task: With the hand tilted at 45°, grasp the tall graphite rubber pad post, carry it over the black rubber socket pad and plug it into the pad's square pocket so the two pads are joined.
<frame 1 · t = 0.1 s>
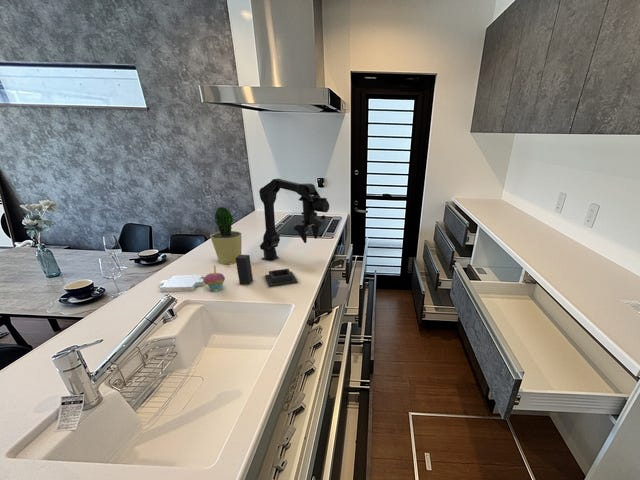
hand: (310, 240, 156), 15 cm above the counter, tool pointing down, fingers open, 9 cm apart
socket pad: (281, 279, 146), on the counter
mounting plate: (183, 285, 138), on the counter
cupcake: (216, 288, 135), on the counter
potted cactus: (230, 260, 168), on the counter
pad post: (246, 282, 142), on the counter
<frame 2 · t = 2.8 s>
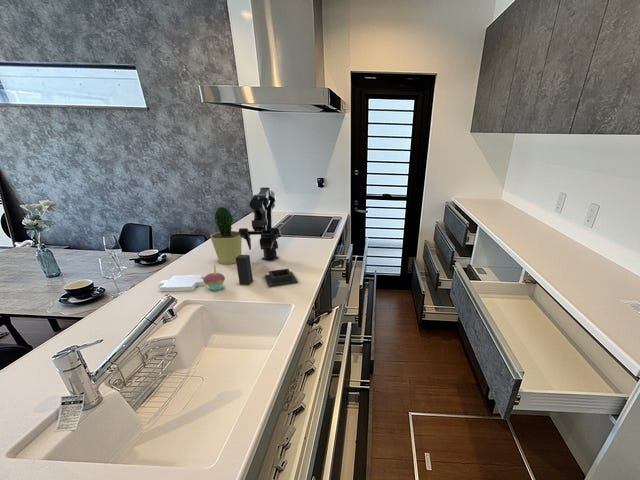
hand: (260, 249, 144), 14 cm above the counter, tool tilted 35°, fingers open, 9 cm apart
nothing on the counter moved.
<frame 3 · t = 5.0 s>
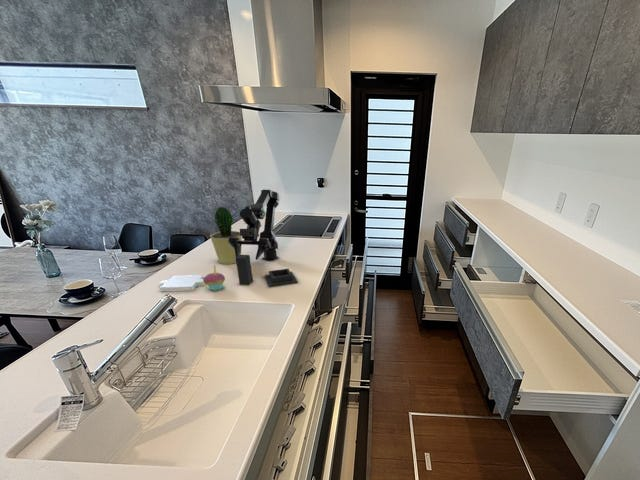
hand: (246, 259, 141), 10 cm above the counter, tool tilted 45°, fingers open, 9 cm apart
nothing on the counter moved.
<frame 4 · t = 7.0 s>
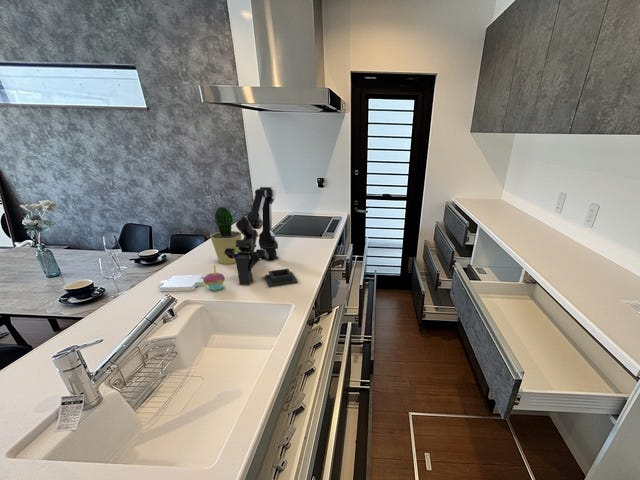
hand: (243, 270, 138), 7 cm above the counter, tool tilted 45°, fingers closed on pad post, 4 cm apart
pad post: (246, 282, 142), on the counter, touching gripper
everything else where it was.
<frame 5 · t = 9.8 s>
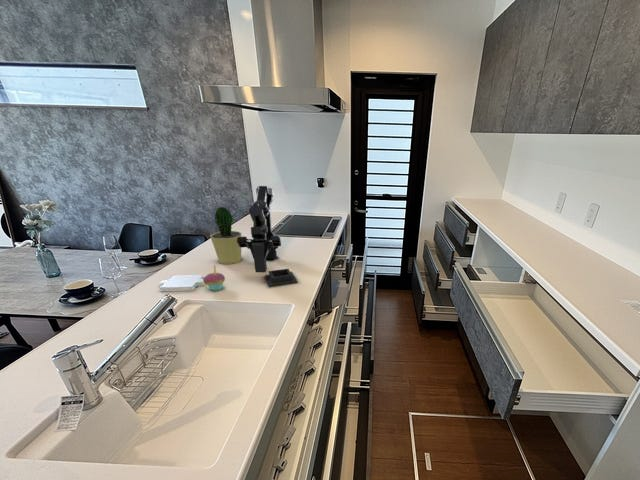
hand: (259, 258, 137), 12 cm above the counter, tool tilted 45°, fingers closed on pad post, 4 cm apart
pad post: (261, 270, 140), point 6 cm above the counter, touching gripper
everything else where it was.
when the fingers open (8 cm above the counter, at t = 12.9 s): pad post stays where it is, resting on socket pad.
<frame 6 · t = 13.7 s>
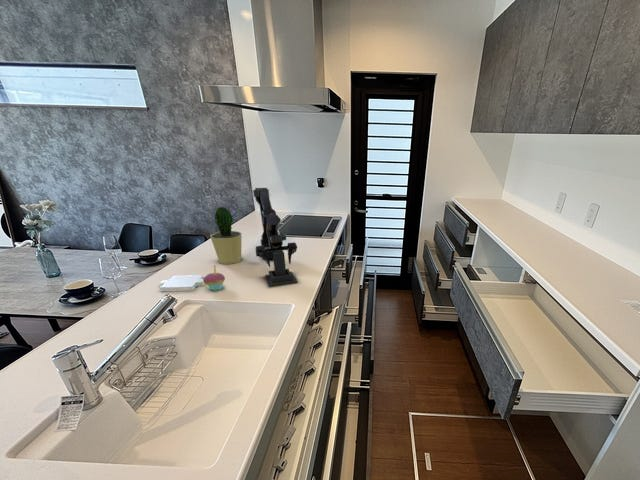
hand: (280, 265, 141), 8 cm above the counter, tool tilted 45°, fingers open, 9 cm apart
pad post: (280, 277, 145), point 1 cm above the counter, touching socket pad
everything else where it was.
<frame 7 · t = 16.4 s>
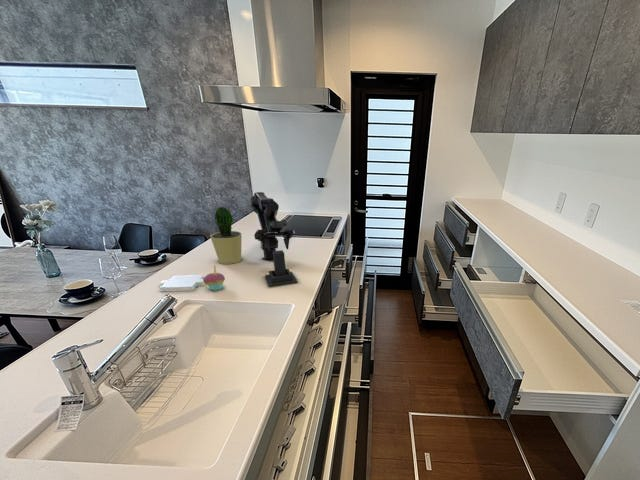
hand: (278, 249, 149), 12 cm above the counter, tool tilted 40°, fingers open, 9 cm apart
nothing on the counter moved.
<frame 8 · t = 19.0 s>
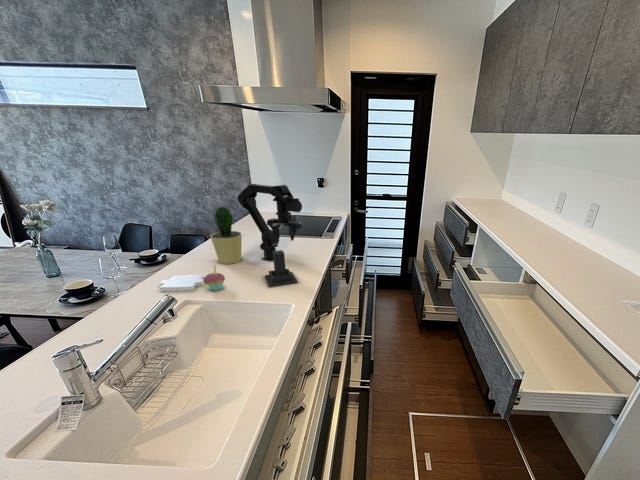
hand: (285, 239, 163), 13 cm above the counter, tool pointing down, fingers open, 9 cm apart
nothing on the counter moved.
at the end: pad post 0.0 cm off-centre on the socket pad, point 1.0 cm above the socket pad's base; pad post tilted 0°; the gripper is holding nothing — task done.
